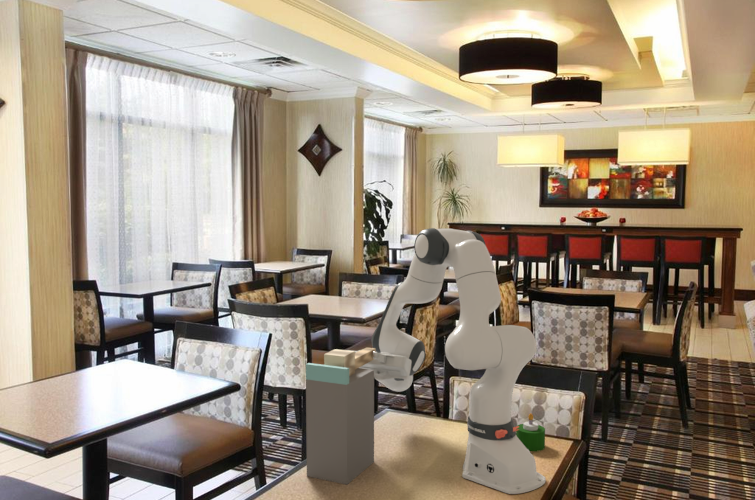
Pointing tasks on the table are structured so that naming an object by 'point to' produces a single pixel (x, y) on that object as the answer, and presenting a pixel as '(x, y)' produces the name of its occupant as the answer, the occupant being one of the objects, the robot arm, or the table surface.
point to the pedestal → (339, 422)
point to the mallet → (349, 358)
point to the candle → (531, 435)
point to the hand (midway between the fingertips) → (366, 353)
